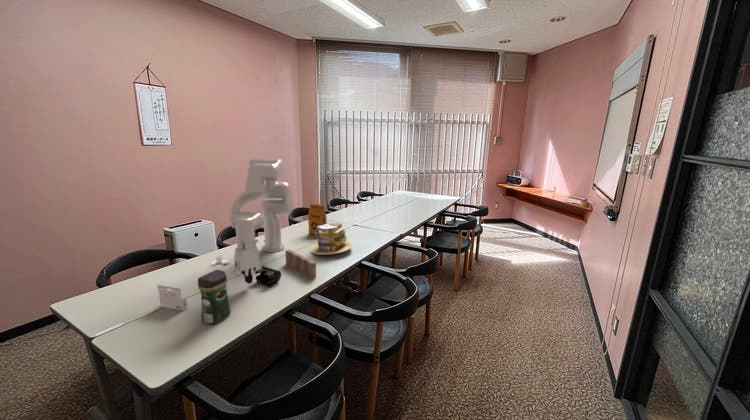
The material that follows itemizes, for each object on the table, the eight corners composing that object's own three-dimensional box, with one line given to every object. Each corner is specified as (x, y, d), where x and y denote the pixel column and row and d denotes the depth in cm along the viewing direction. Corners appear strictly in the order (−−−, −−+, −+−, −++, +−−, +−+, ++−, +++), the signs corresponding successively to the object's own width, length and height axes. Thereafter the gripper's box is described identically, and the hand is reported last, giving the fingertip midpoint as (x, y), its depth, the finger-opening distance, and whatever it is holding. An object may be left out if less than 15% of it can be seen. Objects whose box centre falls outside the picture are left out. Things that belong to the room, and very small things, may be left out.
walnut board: (285, 264, 168) (285, 250, 166) (289, 263, 170) (288, 249, 168) (312, 278, 153) (312, 263, 151) (316, 277, 154) (315, 262, 152)
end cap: (281, 281, 149) (281, 268, 147) (270, 287, 143) (269, 274, 141) (266, 276, 154) (266, 264, 152) (255, 282, 148) (254, 269, 146)
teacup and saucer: (231, 264, 167) (230, 257, 166) (215, 268, 161) (215, 261, 160) (224, 259, 173) (224, 252, 172) (209, 263, 167) (208, 256, 166)
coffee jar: (218, 308, 125) (214, 266, 120) (234, 313, 122) (230, 270, 117) (197, 322, 116) (192, 276, 111) (213, 327, 113) (209, 280, 109)
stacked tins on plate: (302, 252, 186) (302, 225, 182) (329, 241, 206) (329, 216, 202) (335, 262, 174) (335, 233, 169) (360, 249, 194) (360, 223, 190)
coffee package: (321, 237, 212) (321, 206, 207) (306, 234, 217) (305, 204, 212) (329, 233, 221) (329, 203, 215) (314, 231, 226) (314, 201, 220)
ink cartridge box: (165, 303, 127) (162, 282, 125) (188, 308, 125) (185, 285, 122) (159, 306, 125) (156, 284, 122) (183, 311, 122) (180, 288, 120)
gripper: (258, 238, 144) (260, 274, 148) (225, 246, 133) (228, 285, 138) (266, 242, 139) (268, 280, 144) (233, 251, 128) (236, 291, 133)
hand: (248, 282), depth 141 cm, fingers closed
